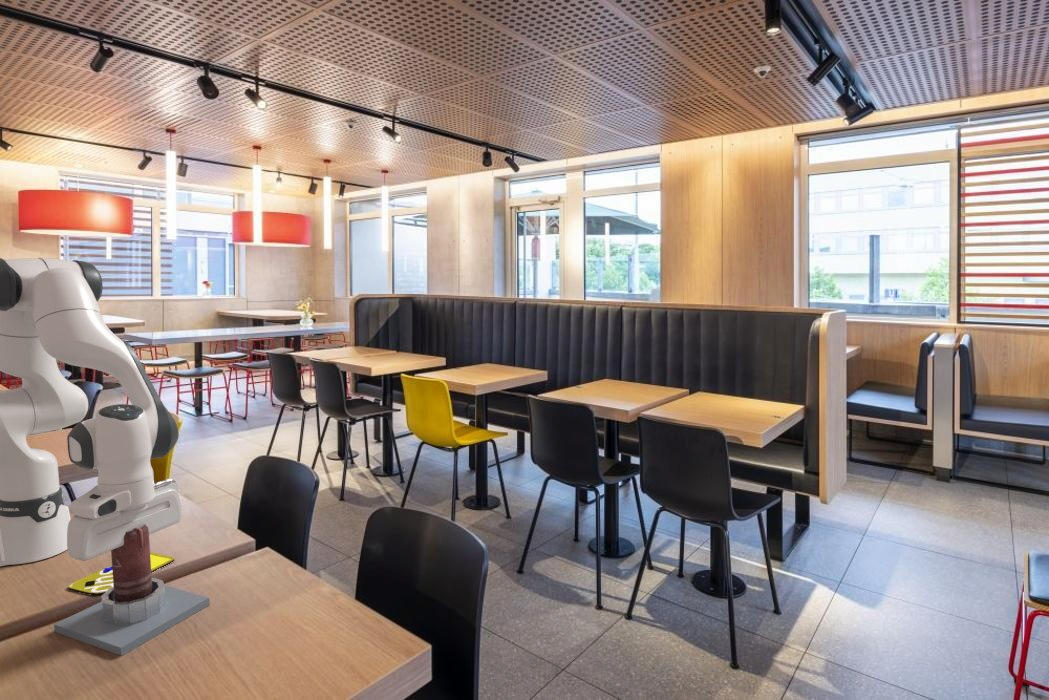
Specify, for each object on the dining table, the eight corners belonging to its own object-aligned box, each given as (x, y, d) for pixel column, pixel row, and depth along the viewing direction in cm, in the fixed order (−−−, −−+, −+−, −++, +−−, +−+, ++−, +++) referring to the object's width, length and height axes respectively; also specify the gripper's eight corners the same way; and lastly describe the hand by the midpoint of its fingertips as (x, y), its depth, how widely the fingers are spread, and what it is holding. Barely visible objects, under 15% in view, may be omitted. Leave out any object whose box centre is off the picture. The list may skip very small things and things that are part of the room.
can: (135, 606, 114) (130, 534, 112) (106, 602, 115) (101, 530, 114) (161, 589, 120) (156, 521, 118) (133, 586, 121) (128, 518, 119)
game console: (141, 554, 145) (140, 548, 145) (178, 562, 142) (178, 556, 142) (64, 592, 128) (64, 585, 128) (104, 601, 125) (104, 594, 125)
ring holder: (90, 618, 115) (89, 597, 115) (141, 592, 124) (140, 574, 124) (127, 630, 112) (126, 609, 111) (176, 603, 121) (175, 584, 120)
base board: (54, 631, 113) (54, 624, 113) (146, 586, 130) (146, 579, 130) (121, 655, 107) (121, 647, 106) (209, 604, 123) (209, 597, 123)
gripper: (165, 473, 126) (169, 538, 128) (58, 508, 107) (64, 583, 109) (188, 477, 123) (191, 543, 125) (82, 513, 105) (88, 590, 106)
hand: (131, 562), depth 117 cm, fingers closed, pressing on can
